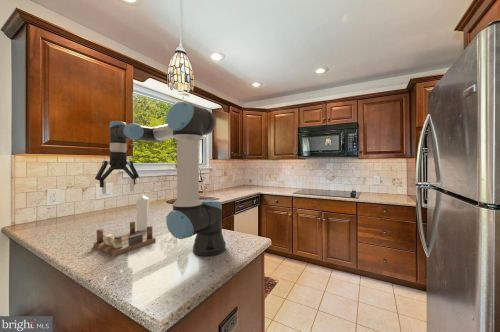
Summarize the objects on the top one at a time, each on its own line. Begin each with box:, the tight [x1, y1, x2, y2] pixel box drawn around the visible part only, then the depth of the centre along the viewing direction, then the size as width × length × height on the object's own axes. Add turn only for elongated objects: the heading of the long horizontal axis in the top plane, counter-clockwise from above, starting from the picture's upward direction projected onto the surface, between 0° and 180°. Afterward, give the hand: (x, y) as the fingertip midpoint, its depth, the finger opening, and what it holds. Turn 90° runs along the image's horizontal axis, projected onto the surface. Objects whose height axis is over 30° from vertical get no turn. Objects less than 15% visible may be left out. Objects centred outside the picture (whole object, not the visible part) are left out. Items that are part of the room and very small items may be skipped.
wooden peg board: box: [93, 221, 157, 257], centre depth 106 cm, size 20×20×8 cm
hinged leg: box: [103, 233, 122, 248], centre depth 99 cm, size 12×3×5 cm, turn 58°
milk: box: [135, 193, 151, 232], centre depth 130 cm, size 6×6×22 cm
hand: (118, 192), depth 110 cm, fingers open, 13 cm apart
